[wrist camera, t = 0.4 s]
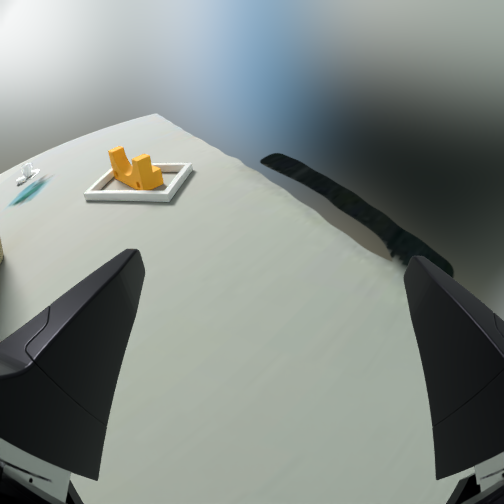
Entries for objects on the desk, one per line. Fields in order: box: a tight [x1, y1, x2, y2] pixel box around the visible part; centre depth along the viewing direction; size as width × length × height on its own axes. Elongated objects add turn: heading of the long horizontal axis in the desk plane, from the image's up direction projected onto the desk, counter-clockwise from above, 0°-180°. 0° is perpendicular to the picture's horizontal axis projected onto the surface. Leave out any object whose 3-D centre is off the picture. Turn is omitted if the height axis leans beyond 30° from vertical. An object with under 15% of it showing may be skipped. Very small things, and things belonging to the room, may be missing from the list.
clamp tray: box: [84, 163, 193, 202], centre depth 48 cm, size 12×18×2 cm, turn 82°
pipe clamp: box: [108, 146, 164, 190], centre depth 47 cm, size 12×4×6 cm, turn 51°
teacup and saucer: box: [16, 163, 40, 184], centre depth 58 cm, size 9×8×4 cm
